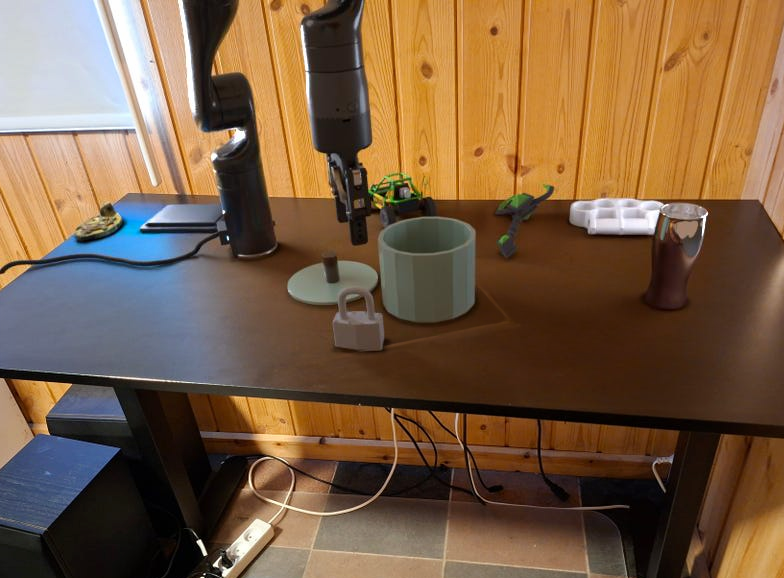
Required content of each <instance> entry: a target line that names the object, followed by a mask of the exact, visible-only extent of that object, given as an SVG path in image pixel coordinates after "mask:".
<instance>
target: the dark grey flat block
mask: <svg viewBox="0 0 784 578" xmlns="http://www.w3.org/2000/svg"><path fill="white" fill-rule="evenodd" d="M219 221H224V216H223V211H222V206H221V203H198V204H197V203H196V204H195V203H194V204H193V203H191V204H189V203H188V204H181V203H180V204H167V205H166V206H165V207H163V208H162V209H160V210H159V211H158V212H156V213H155V214H154V215H153V216H152V217H151V218H149V219H148V220H147V221H145V222H144V223H143V224H142V225H141V226H140V227H139V231H140V233H216V232H218V227H217V222H219Z"/></svg>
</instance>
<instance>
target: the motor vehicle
mask: <svg viewBox="0 0 784 578" xmlns="http://www.w3.org/2000/svg"><path fill="white" fill-rule="evenodd" d="M394 176H395V177H396V176H400V178H399V179H395V180H394V179H393V178H391V177H394ZM412 179H413V178H412V177H411V176H410V175H408V174H406V173H404V172H394V173H390V174H386V175H385V176H384V177H383V178H382V179H381V180H380V181H379V183H376V184H375V183H371V184H369V185H370V186H369V189H368V190H369V200H370V209H371V210H372V203H373V204H374V205H375V206H376V207H377V208H378V209H380V211H379V217H380V218H379V219H380V222H381V224H382V227H383V228H384V229H385V228H386V227H388V226H389V225H391V224H394V223H397V219H396V217H398V216H402V215H406V214H411V213H415V212H419V211H420V213H421V217H437V212H438V211H437V206H436V202H435V201H434V198H433V197H432V196H425V197H424V192H423V188H421V189H420V190H421V191H420V190H419V189H418V187H417V186H416V185H414V183H413V182H412ZM385 180H388V181H386V182H384V181H385ZM421 181H422V182H421V186H423V184H424V186H425V187H426V189H427V190H428V191H430V186H429V182H428V180H427V177H426V176H425V175H424V176H423V178H422V180H421ZM387 184H388V185H387ZM381 185H385V186H381ZM358 205H359V208H361V205H360V201H359V200H358Z"/></svg>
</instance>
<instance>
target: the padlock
mask: <svg viewBox="0 0 784 578" xmlns="http://www.w3.org/2000/svg"><path fill="white" fill-rule="evenodd" d="M350 294H359V295H361V296H363V297H362V298H364V301H365V303H366V305H365V306H366V311H362V310H357V311H353V310H352V311H348V310H347V303H346V296H347V295H350ZM337 305H338V312H336V314H335V316H334V318H333V320H332V323H331V324H332V330H333V337H334V345H335V347H336V348H341V349H342V348H343V349H350V350H356V352H377V351H378V352H379V351H382V350H383V346H384V341H385V327H384V315H383V313H381V312H375V311H376V310H375V301H374V296H373V294H372V293H371V292H369V291H368V290H366V289H365V288H362V287H356V286H353V287H347V288H344V289H343V290H341V292H340V293H339V296H338V304H337Z"/></svg>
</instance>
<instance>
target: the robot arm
mask: <svg viewBox="0 0 784 578" xmlns="http://www.w3.org/2000/svg"><path fill="white" fill-rule="evenodd" d="M365 3H366V0H327V1H326V3H325V4H324V5H323V6H321V7H319V8H318V9H316V10H314V11H311V12H309V13H308V14H305V15H304V16H303V17H302V19H301V21H300V28H299V29H300V38H301V47H302V48H301V49H302V54H303V55H302V56H303V62H304V69H305V93H306V101H307V108H308V117H309V125H310V133H311V139H312V140H311V141H312V146H313V147H312V148H313V149H314V150H315V151H317V152H318V153H321V154H325V159H326V168H327V176H328V185H329V187H330V188H331V194H332V196H333V197H334V206H335V213H336V214H335V215H336V220H337V222H338V223H340V224H343V223H344V224H345V223H348V230H349V239H350V243H351V245H352V246H354V247H356V246H363V245H366V244H368V242H369V236H368V224H367V218H369V217H371V216H372V208H371V209H370V200H369V190H370V189H369V182H368V170H367V168H366V167H364V164H363V162H360V159H359V156H358V153H360V152H361V151H362V150H366V149H368V148H369V147H370V146H371V145H372V144H373V130H372V129H373V128H372V117H371V115H372V114H371V104H370V103H371V102H370V91H369V82H368V77H367V73H366V66H365V55H364V46H363V32H362V28H363V27H362V26H363V18H364V10H365ZM178 4H179V12H180V17H181V23H182V29H183V30H182V31H183V36H184V44H185V45H184V46H185V58H186V70H187V71H186V73H187V88H188V89H187V90H188V100H189V107H190V111H191V115H192V119H193V121H194V124H195V125H196V127H197V128H198V130H199V131H201V132H202V133H205V134H212V133H213V134H214V133H221V132H226V131H230V130H235V132H234V134H233V136H232V137H231V138H230V139H229V140H228V141H227V142H225V143H224V144H223V145H222V146H220V147H219V148H217V149H215V150H214V151H213V153H212V154H211V159H210V160H211V165H212V170H213V173H214V179H215V182H216V186H217V187H216V188H217V192H218V196H219V201H220V204H221V206H222V211H223V216H224V221H219V222H217V227H218V232H213V233H212V234H210V235H207V236H205V237H204V238H201V240H199V241H198V242H197V243H196V245H195V247H194V249H192V250H191V251H188V252H187V253H185V254H182V255H180V256H176V257H172V258H171V257H170V258H167V259H159V260H158V259H157V260H146V261H145V260H144V261H140V260H133V259H129V258H124V257H118V256H112V255H106V254H101V253H94V252H93V253H90V252H84V253H72V254H66V255H65V254H64V255H59V256H55V257H49V258H43V259H20V260H13V261H9V262H8V263H5V264H4V265H3V266H2V267H0V275H4V274H6V272H8V270H9V269H11V268H13V267H18V266H27V265H28V266H30V265H31V266H32V265H34V266H35V265H36V266H37V265H45V264H53V263H58V262H63V261H69V260H76V259H77V260H78V259H97V260H104V261H109V262H114V263H120V264H121V263H122V264H125V265H130V266H134V267H135V266H136V267H153V266H154V267H155V266H164V265H170V264H173V263H177V262H179V261H184V260H186V259H189V258H191V257H193V256H195V255H197V254H198V253H199V252H200V250H201V248H202V247H203V246H204V245H205V244H207V243H209V242H210V241H213V240H215V239H216V238H219V242H220V245H221V246H227V245H229V247H230V252H231V256H232V258H233V259H236V258H241V259H253V258H259V257H260V258H261V257H263V256H267V255H269V254H271V253H273V252H274V251H275V250H277V248H278V241H277V237H276V231H275V227H276V222H275V220H273V219H274V218H273V214H272V208H271V203H270V198H269V191H268V187H267V186H268V185H267V181H266V174H265V169H264V164H263V163H264V162H263V158H262V150H261V142H260V141H261V140H260V137H259V129H258V122H257V112H256V104H255V98H254V94H253V89H252V86H251V83H250V81H249V79H248V78H247V76H246V75H245V74H244V73H243V72H240V71H234V72H226V73H220V74H219V73H218V74H214V75H213V74H212V73H213V68H214V62H215V59H216V56H217V54H218V52H219V49H220V47H221V45H222V43H223V42H224V40H225V38H226V37H227V35H228V33H229V31H230V29H231V27H232V26H233V23H234V21H235V19H236V16H237V13H238V12H239V11H238V10H239V6H240V0H178ZM355 201H358V202H359V201H360V205H361V208H360V207H356V208H355ZM360 205H359V206H360Z"/></svg>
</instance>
